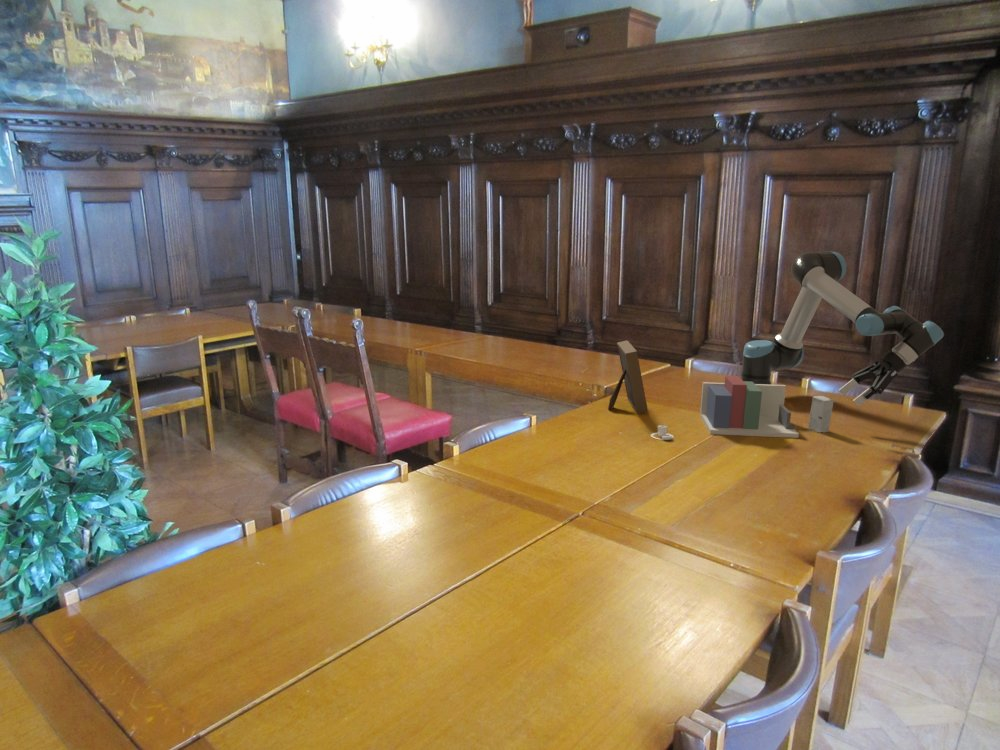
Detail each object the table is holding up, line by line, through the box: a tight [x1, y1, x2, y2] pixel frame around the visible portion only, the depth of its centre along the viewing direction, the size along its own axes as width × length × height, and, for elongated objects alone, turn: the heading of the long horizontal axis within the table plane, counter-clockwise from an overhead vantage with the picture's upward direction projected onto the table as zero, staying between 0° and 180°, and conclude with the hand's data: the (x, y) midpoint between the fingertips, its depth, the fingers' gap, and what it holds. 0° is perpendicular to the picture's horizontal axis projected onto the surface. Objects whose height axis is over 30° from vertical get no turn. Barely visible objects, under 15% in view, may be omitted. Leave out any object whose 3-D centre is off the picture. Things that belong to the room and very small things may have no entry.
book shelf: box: [699, 375, 800, 439], centre depth 244 cm, size 22×30×18 cm
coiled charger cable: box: [650, 424, 674, 441], centre depth 234 cm, size 9×8×4 cm
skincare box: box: [807, 395, 834, 434], centre depth 241 cm, size 6×4×12 cm
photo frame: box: [607, 340, 649, 415], centre depth 268 cm, size 15×22×25 cm
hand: (848, 398), depth 238 cm, fingers open, 13 cm apart
